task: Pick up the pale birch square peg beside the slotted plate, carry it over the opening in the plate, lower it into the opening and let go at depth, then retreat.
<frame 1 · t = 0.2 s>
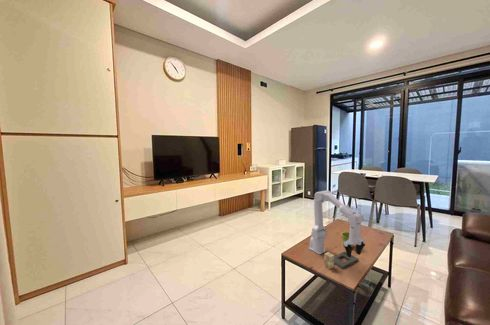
hand: (353, 255, 123), 10 cm above the table, tool pointing down, fingers open, 7 cm apart
birch peg: (328, 266, 128), on the table
slotted plate: (343, 260, 134), on the table
plant pot: (347, 246, 153), on the table
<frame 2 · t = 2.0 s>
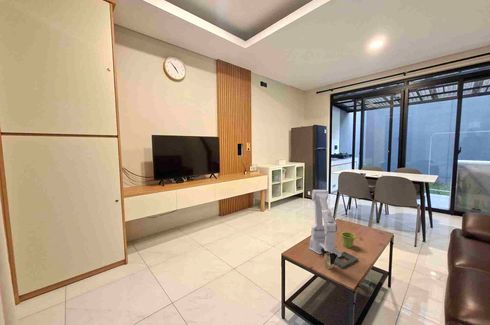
hand: (329, 262, 128), 3 cm above the table, tool pointing down, fingers closed on birch peg, 4 cm apart
birch peg: (328, 266, 128), on the table, touching gripper
everything else where it was.
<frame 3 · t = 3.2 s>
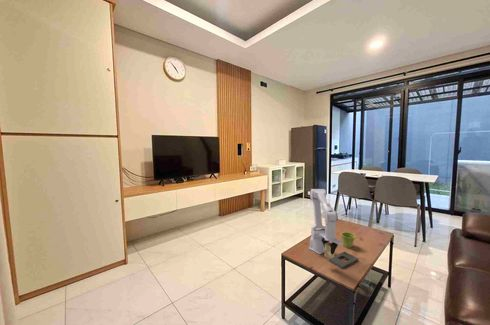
hand: (329, 251, 127), 10 cm above the table, tool pointing down, fingers closed on birch peg, 4 cm apart
birch peg: (329, 256, 128), point 7 cm above the table, touching gripper
everything else where it was.
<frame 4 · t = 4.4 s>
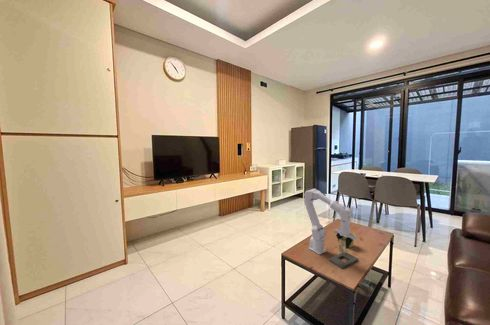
hand: (344, 246, 133), 10 cm above the table, tool pointing down, fingers closed on birch peg, 4 cm apart
birch peg: (343, 251, 133), point 7 cm above the table, touching gripper
everything else where it was.
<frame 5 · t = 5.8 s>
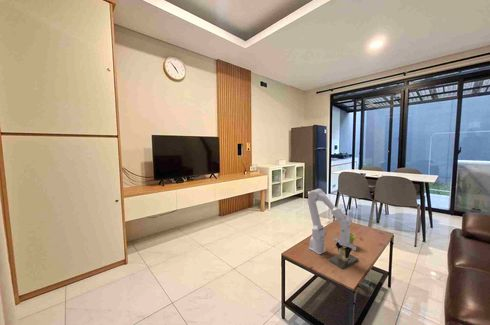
hand: (343, 255, 134), 3 cm above the table, tool pointing down, fingers closed on birch peg, 4 cm apart
birch peg: (343, 260, 134), resting in slotted plate, touching gripper
everything else where it was.
when the fingers open (3 cm above the table, at t = 6.9 s): birch peg stays where it is, resting in slotted plate.
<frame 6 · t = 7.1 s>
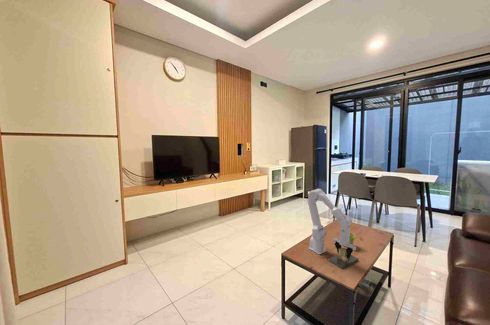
hand: (343, 255, 134), 3 cm above the table, tool pointing down, fingers open, 6 cm apart
birch peg: (343, 261, 134), resting in slotted plate
everything else where it was.
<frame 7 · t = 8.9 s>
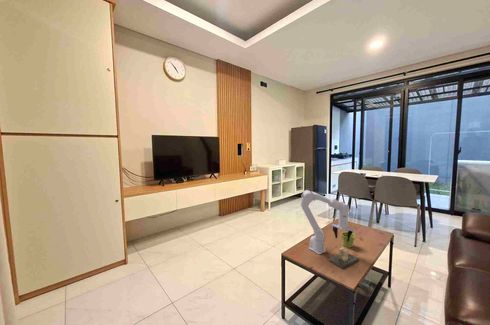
hand: (342, 239, 144), 9 cm above the table, tool pointing down, fingers open, 7 cm apart
nothing on the table moved.
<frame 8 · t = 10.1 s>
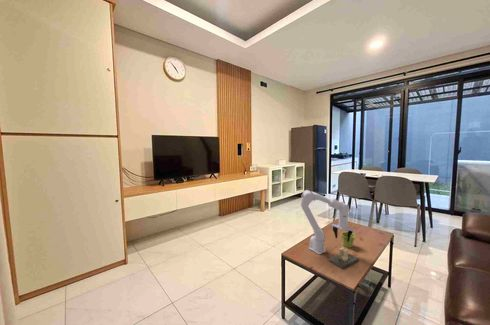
hand: (342, 239, 144), 9 cm above the table, tool pointing down, fingers open, 7 cm apart
nothing on the table moved.
at the end: birch peg 0.4 cm off-centre on the slotted plate, point 0.0 cm above the slotted plate's base; birch peg tilted 0°; the gripper is holding nothing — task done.
